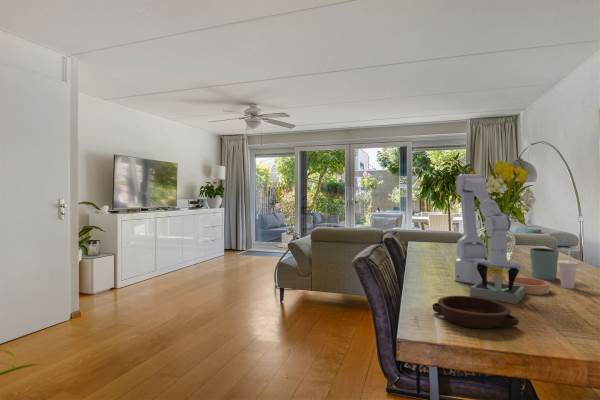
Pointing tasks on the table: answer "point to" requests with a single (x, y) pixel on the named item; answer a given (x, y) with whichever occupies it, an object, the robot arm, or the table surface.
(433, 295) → the table surface
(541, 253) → the grey green pot
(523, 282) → the bowl
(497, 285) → the pacifier
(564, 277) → the smoothie
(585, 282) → the table surface
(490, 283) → the gray square frame
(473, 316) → the dish
